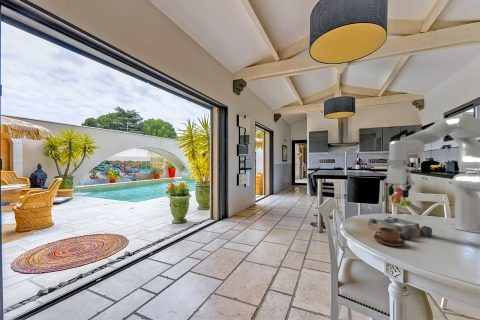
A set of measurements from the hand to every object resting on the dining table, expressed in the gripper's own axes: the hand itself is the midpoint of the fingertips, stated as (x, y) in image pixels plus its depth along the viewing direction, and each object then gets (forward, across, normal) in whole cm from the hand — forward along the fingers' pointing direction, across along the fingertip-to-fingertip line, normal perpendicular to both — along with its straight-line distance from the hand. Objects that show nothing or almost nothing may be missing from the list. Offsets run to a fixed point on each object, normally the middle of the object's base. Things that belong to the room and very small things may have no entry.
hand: (398, 195), depth 110 cm
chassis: (+20, +1, -1) cm, 20 cm away
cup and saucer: (+20, -9, +19) cm, 29 cm away
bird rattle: (+6, -1, 0) cm, 6 cm away
